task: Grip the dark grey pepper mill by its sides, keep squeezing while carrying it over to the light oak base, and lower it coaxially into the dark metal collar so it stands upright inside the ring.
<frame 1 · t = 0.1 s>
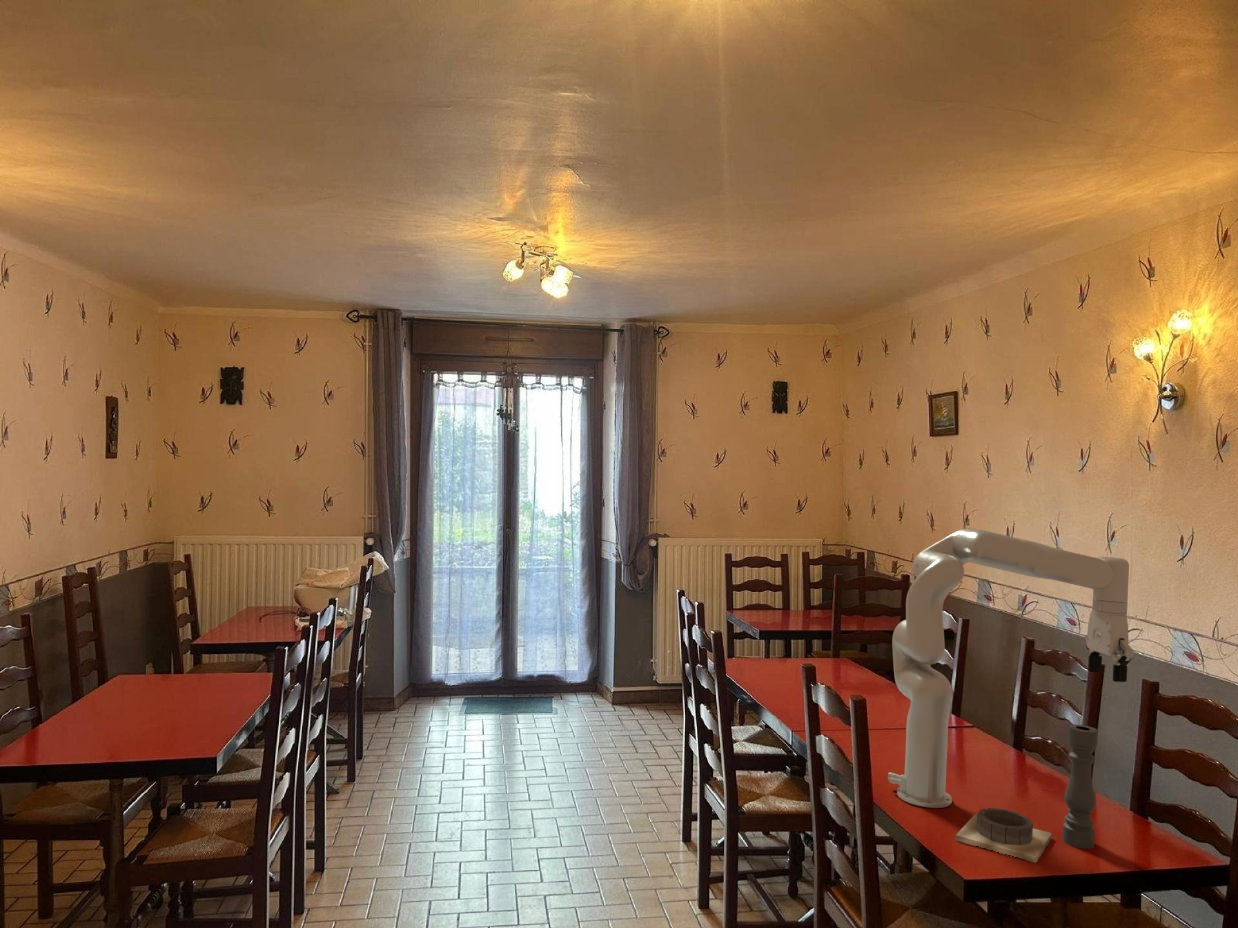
hand: (1106, 676, 214), 31 cm above the table, tool pointing down, fingers open, 9 cm apart
dark grey pepper mill: (1078, 843, 189), on the table
collar base: (1003, 839, 189), on the table
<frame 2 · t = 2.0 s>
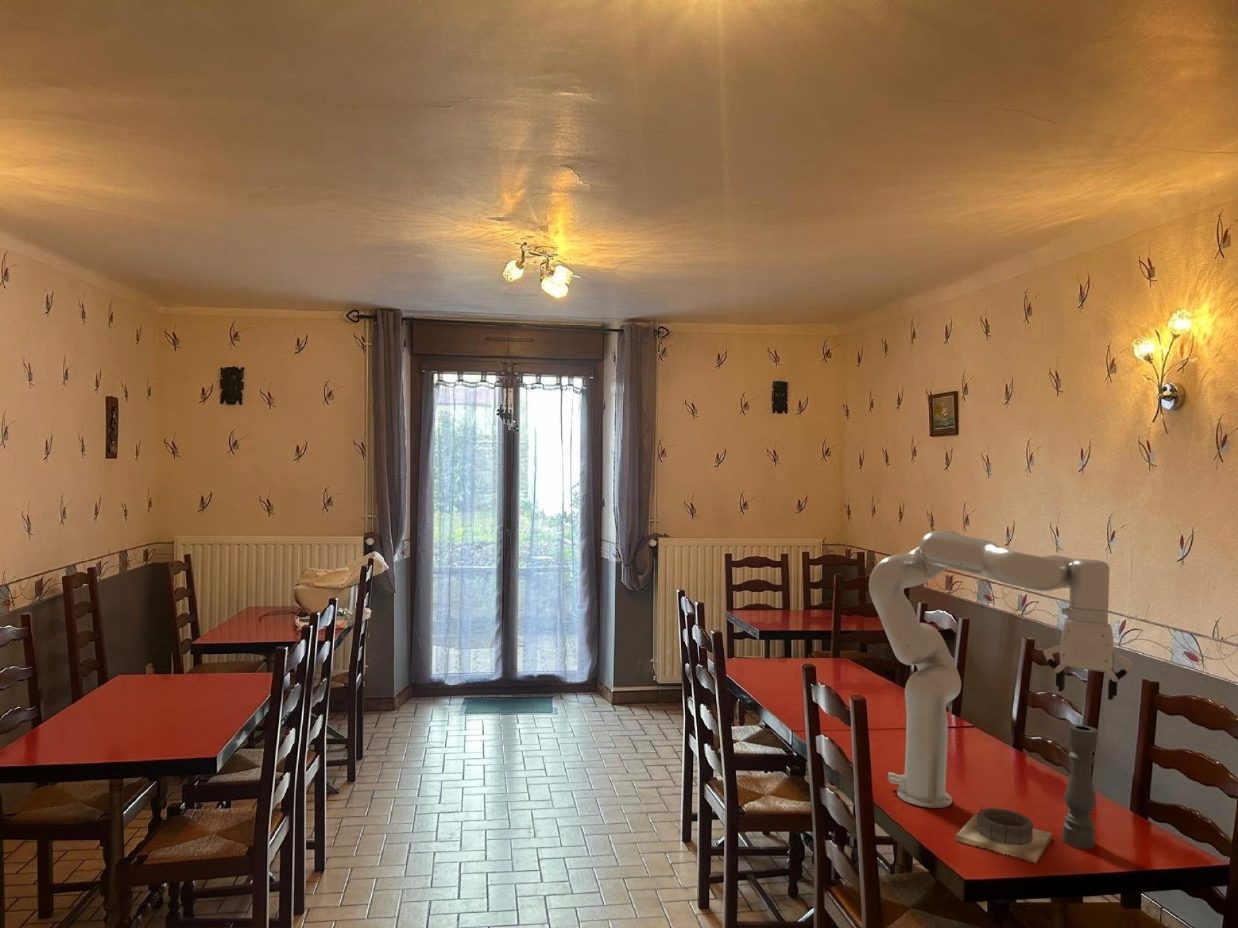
hand: (1085, 694, 189), 32 cm above the table, tool pointing down, fingers open, 9 cm apart
nothing on the table moved.
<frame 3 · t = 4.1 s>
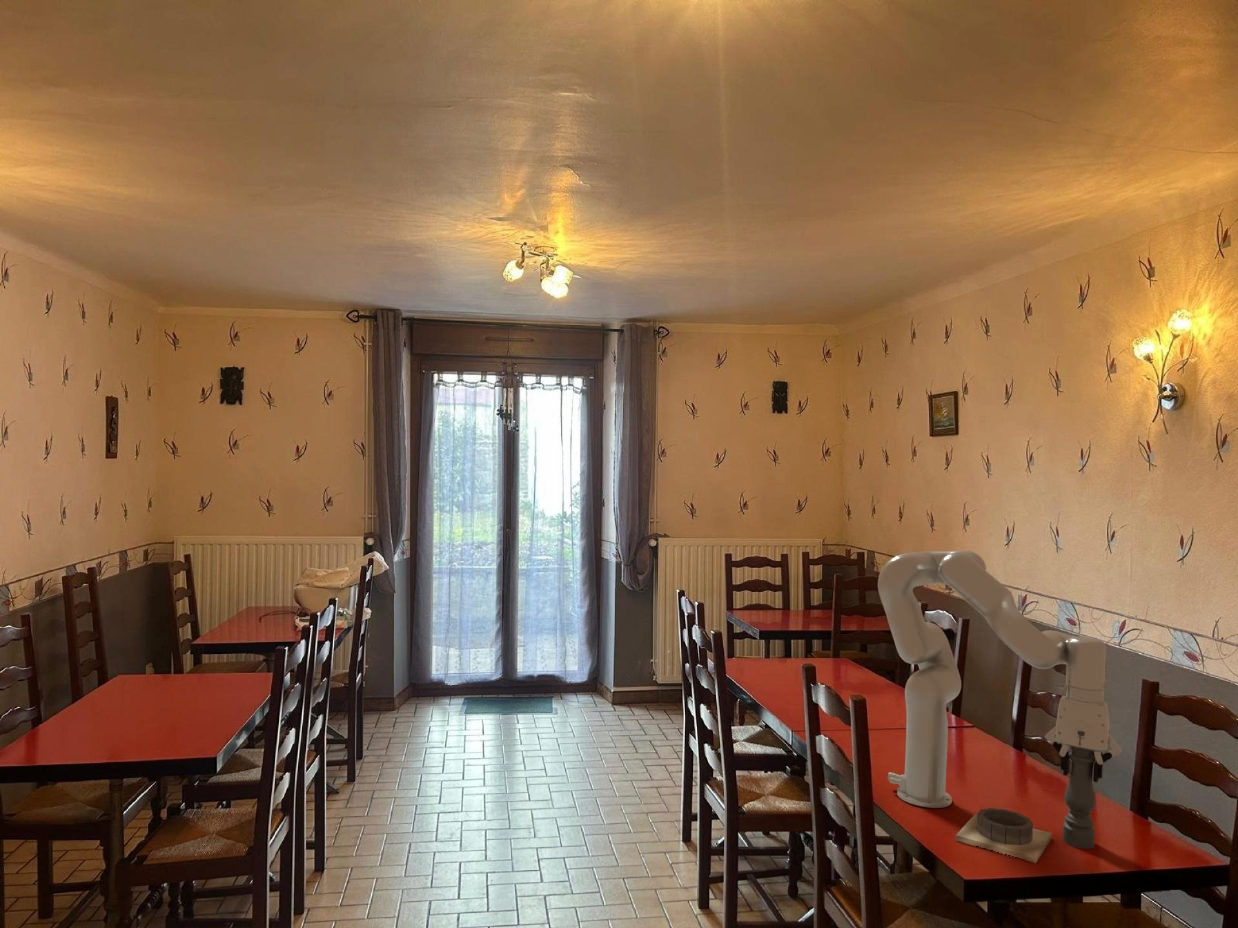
hand: (1081, 776, 189), 14 cm above the table, tool pointing down, fingers closed on dark grey pepper mill, 5 cm apart
dark grey pepper mill: (1078, 843, 189), on the table, touching gripper
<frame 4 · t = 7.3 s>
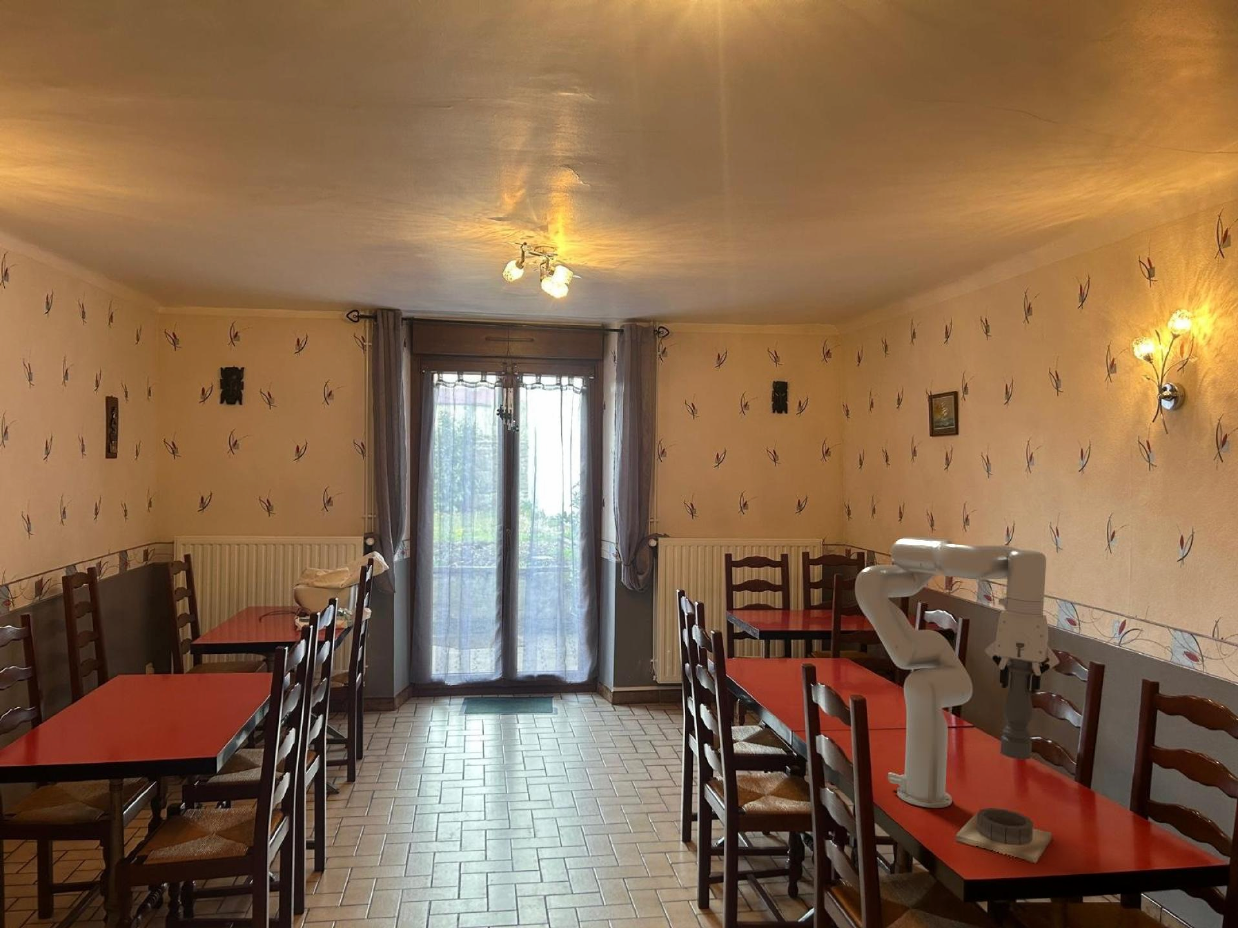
hand: (1019, 688, 189), 33 cm above the table, tool pointing down, fingers closed on dark grey pepper mill, 5 cm apart
dark grey pepper mill: (1015, 755, 189), point 18 cm above the table, touching gripper
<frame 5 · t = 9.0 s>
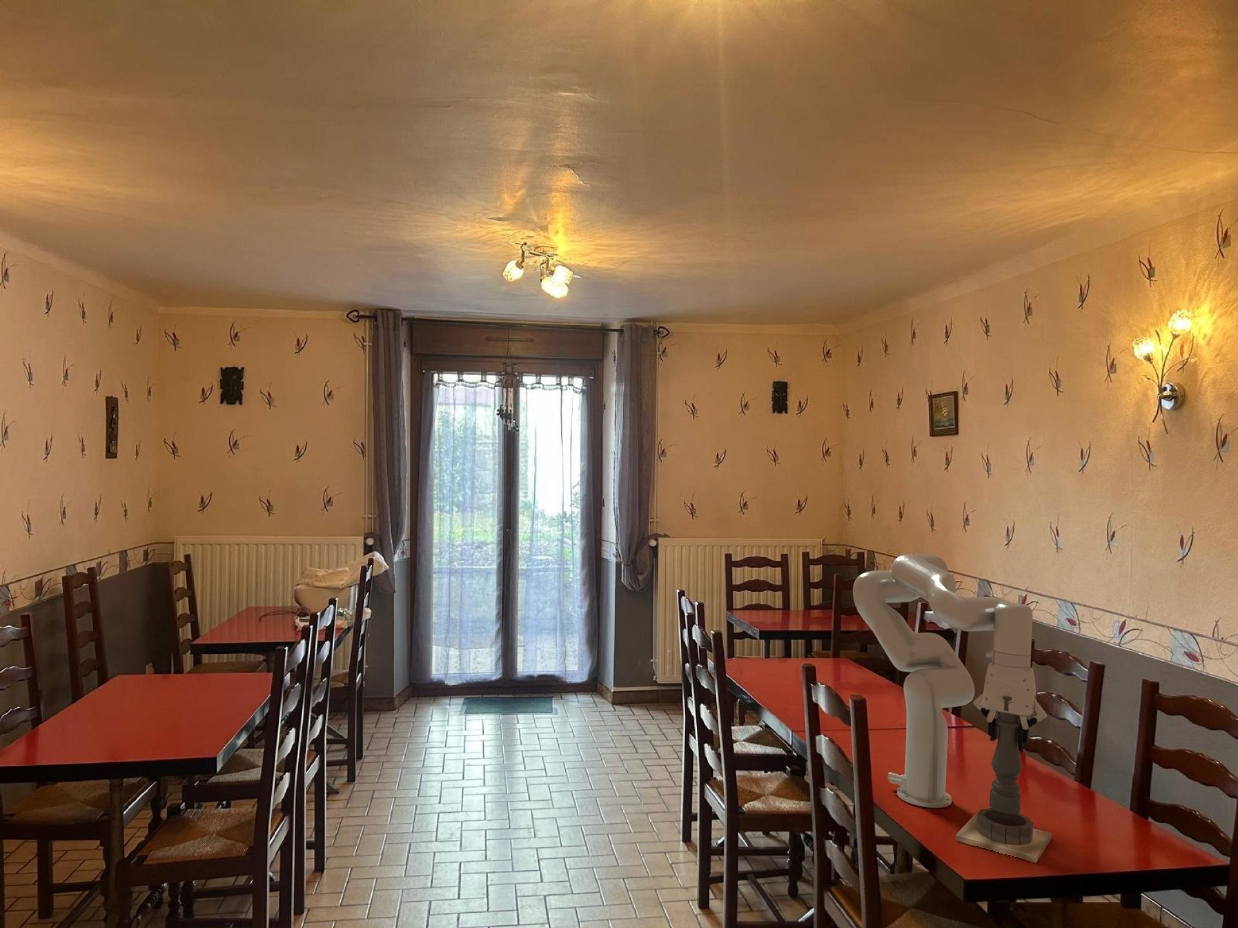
hand: (1007, 741, 189), 21 cm above the table, tool pointing down, fingers closed on dark grey pepper mill, 5 cm apart
dark grey pepper mill: (1004, 808, 189), point 7 cm above the table, touching gripper
when the fingers open (17 cm above the table, at t = 10.4 s): dark grey pepper mill drops 1 cm, resting on collar base.
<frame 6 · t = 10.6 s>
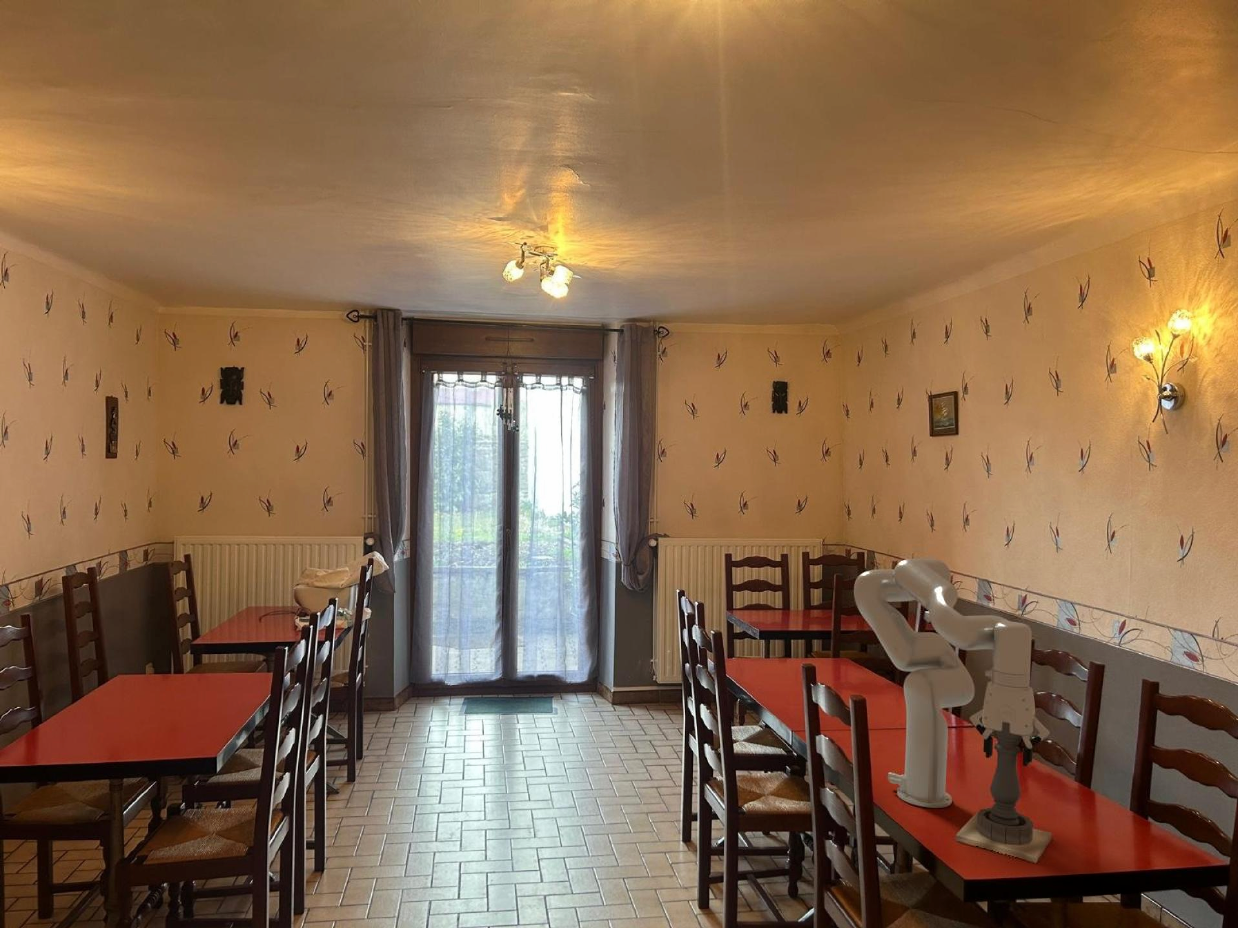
hand: (1007, 759, 189), 17 cm above the table, tool pointing down, fingers open, 7 cm apart
dark grey pepper mill: (1003, 834, 189), point 1 cm above the table, touching collar base
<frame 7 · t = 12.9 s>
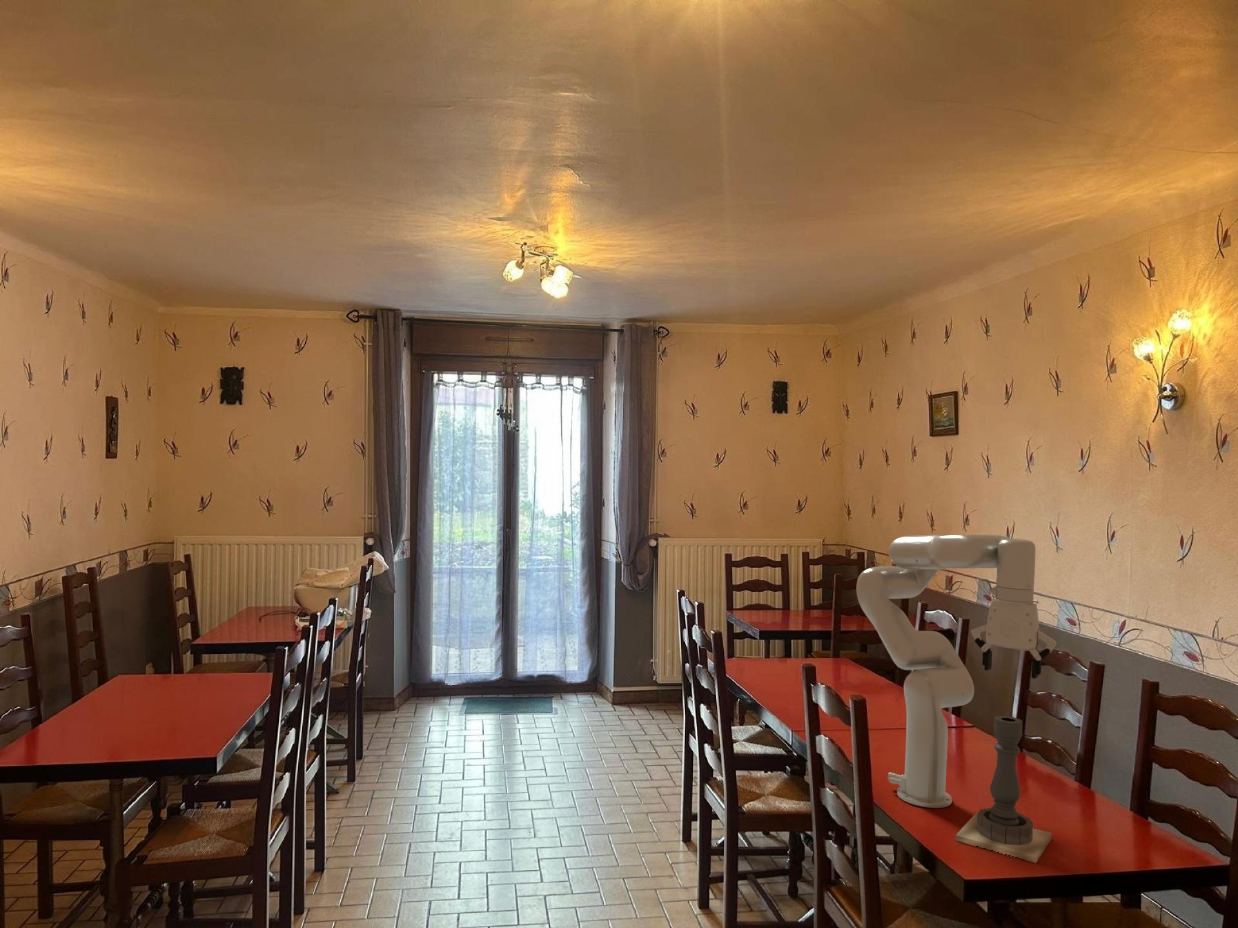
hand: (1010, 673, 189), 36 cm above the table, tool pointing down, fingers open, 9 cm apart
nothing on the table moved.
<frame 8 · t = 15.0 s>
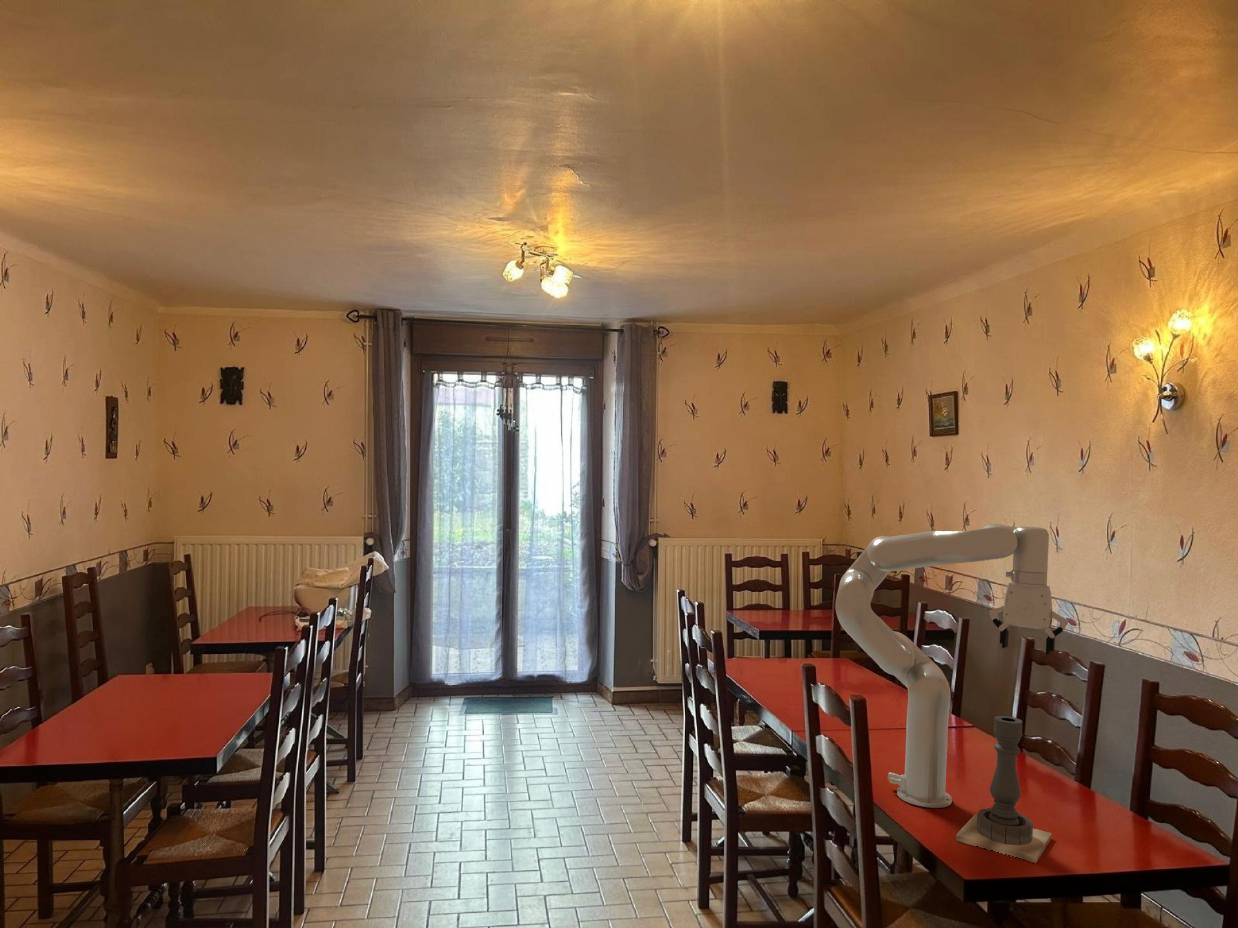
hand: (1026, 650, 206), 38 cm above the table, tool pointing down, fingers open, 9 cm apart
nothing on the table moved.
at the end: dark grey pepper mill 0.2 cm off-centre on the collar base, point 1.0 cm above the collar base's base; dark grey pepper mill tilted 0°; the gripper is holding nothing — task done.
